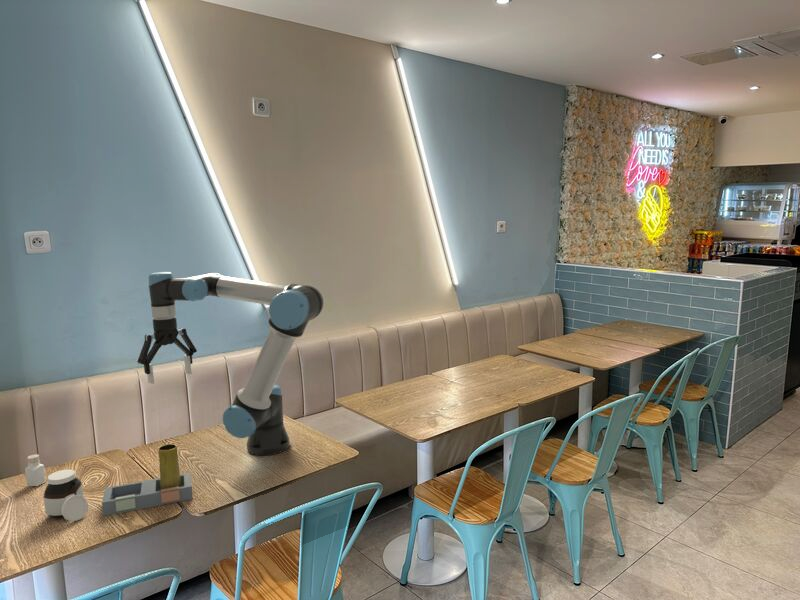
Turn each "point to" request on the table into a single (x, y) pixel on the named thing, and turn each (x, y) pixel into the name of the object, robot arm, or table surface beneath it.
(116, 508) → the sorting tray
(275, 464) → the table surface
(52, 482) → the spread jar
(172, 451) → the vase
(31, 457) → the salt shaker
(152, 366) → the robot arm
